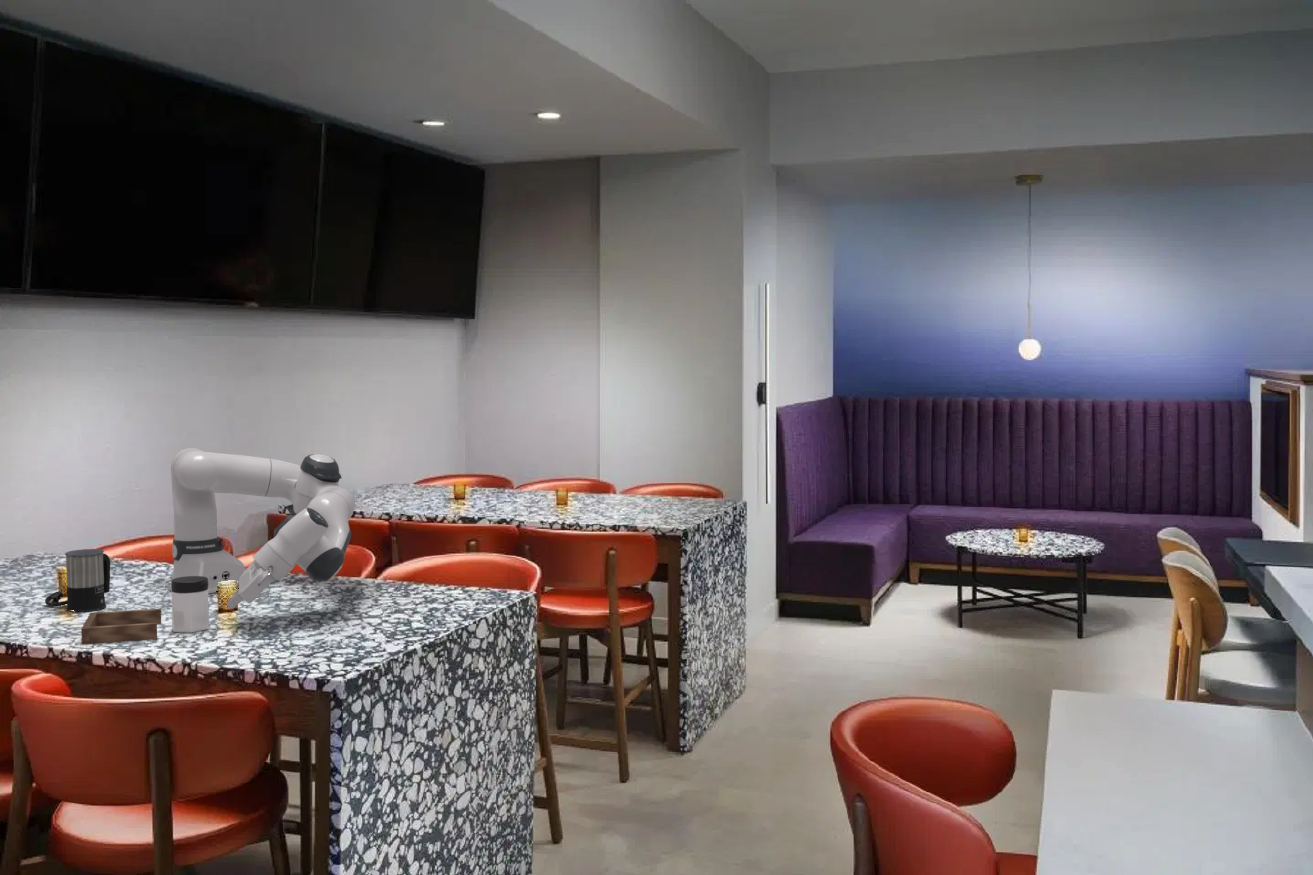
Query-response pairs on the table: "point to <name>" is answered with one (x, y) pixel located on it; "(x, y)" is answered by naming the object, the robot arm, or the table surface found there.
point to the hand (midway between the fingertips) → (229, 606)
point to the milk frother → (84, 581)
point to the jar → (190, 604)
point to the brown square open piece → (121, 626)
